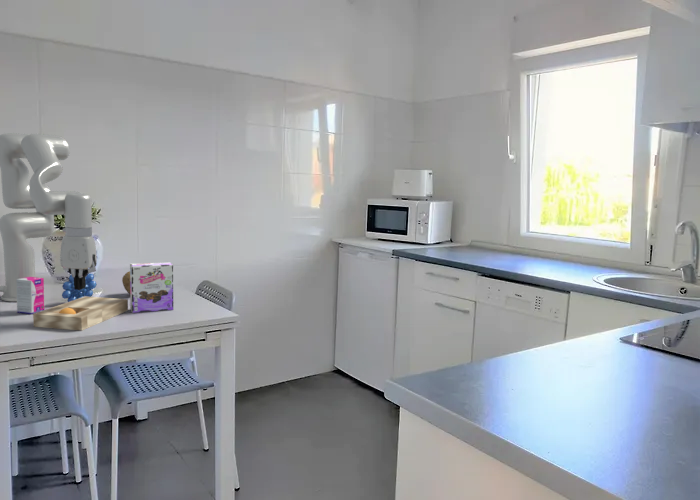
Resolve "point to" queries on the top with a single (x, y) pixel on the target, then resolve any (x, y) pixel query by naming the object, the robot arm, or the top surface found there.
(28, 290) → the supplement box
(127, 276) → the natural sponge
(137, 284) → the candy box
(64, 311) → the ball
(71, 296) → the grapes
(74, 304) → the wooden tray with pocket
